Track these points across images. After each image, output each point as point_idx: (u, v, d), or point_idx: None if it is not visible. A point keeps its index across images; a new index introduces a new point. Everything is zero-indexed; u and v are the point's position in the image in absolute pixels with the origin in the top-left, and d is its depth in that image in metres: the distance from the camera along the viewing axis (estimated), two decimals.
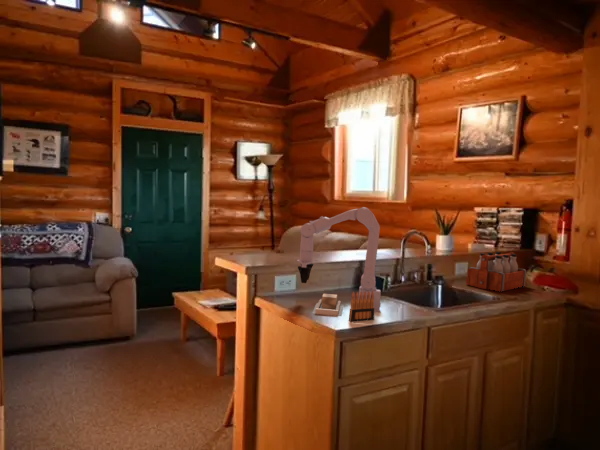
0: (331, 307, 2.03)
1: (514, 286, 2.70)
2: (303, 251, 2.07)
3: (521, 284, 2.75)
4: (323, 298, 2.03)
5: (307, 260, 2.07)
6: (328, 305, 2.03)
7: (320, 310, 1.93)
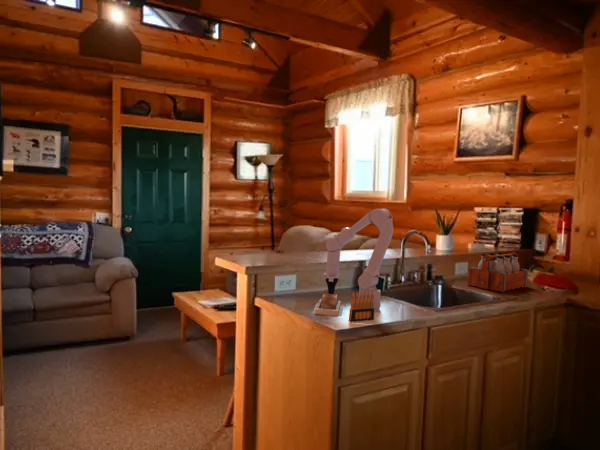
0: (331, 307, 2.03)
1: (516, 286, 2.70)
2: (330, 265, 2.12)
3: (522, 284, 2.75)
4: (323, 298, 2.03)
5: (334, 274, 2.12)
6: (328, 305, 2.03)
7: (320, 310, 1.93)
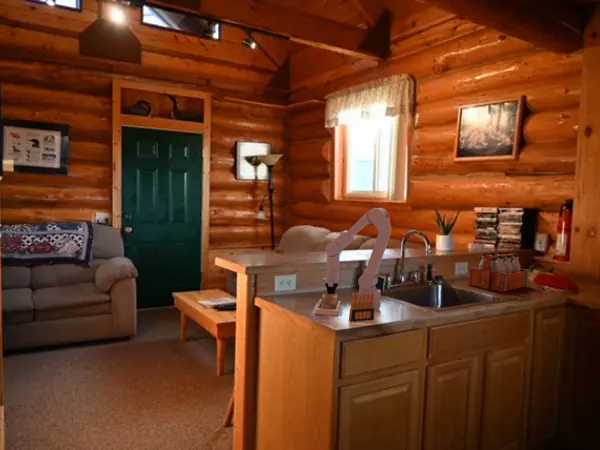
0: (331, 307, 2.03)
1: (516, 286, 2.70)
2: (329, 270, 2.11)
3: (523, 284, 2.75)
4: (323, 298, 2.03)
5: (333, 279, 2.11)
6: (328, 305, 2.03)
7: (320, 310, 1.93)
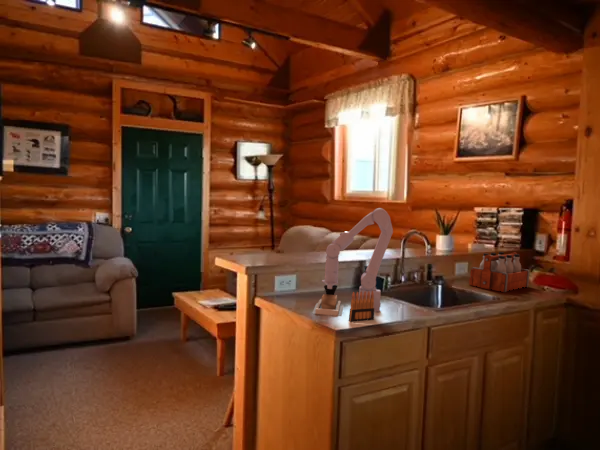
0: (331, 308, 2.02)
1: (517, 286, 2.70)
2: (328, 272, 2.06)
3: (524, 284, 2.75)
4: (323, 299, 2.02)
5: (332, 281, 2.06)
6: (327, 305, 2.02)
7: (320, 310, 1.93)
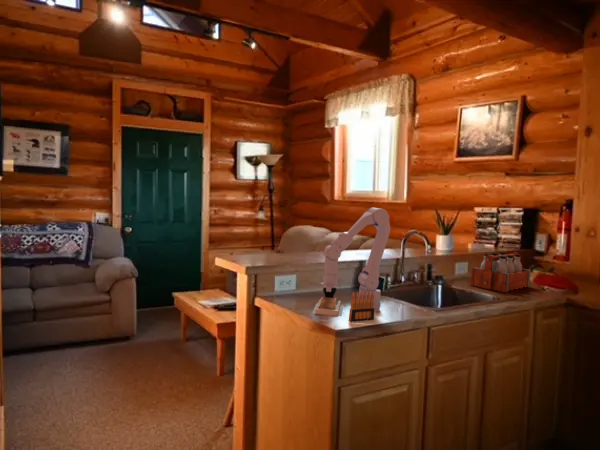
0: None
1: (518, 286, 2.70)
2: (327, 274, 2.00)
3: (525, 284, 2.75)
4: (321, 302, 1.96)
5: (331, 283, 2.00)
6: (326, 308, 1.96)
7: (320, 310, 1.93)
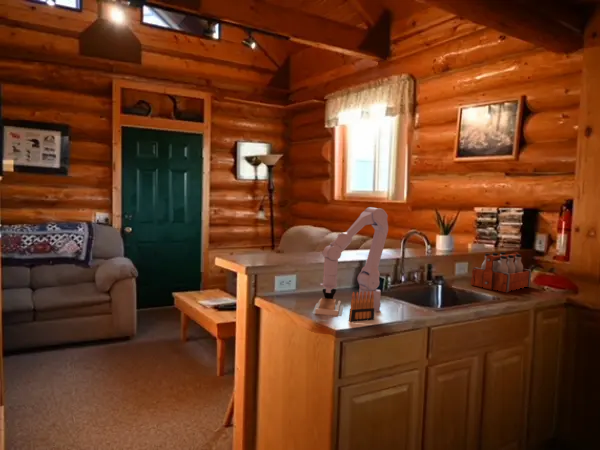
0: None
1: (519, 286, 2.70)
2: (327, 275, 1.98)
3: (526, 284, 2.75)
4: (321, 303, 1.94)
5: (331, 284, 1.98)
6: None
7: (320, 310, 1.93)
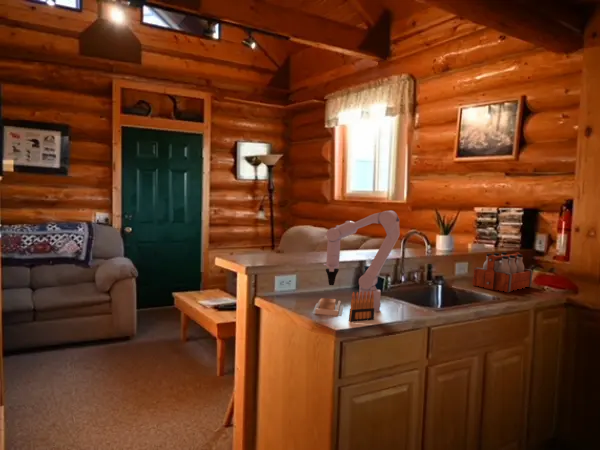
0: None
1: (521, 286, 2.70)
2: (330, 255, 2.10)
3: (527, 285, 2.75)
4: (321, 303, 1.94)
5: (334, 264, 2.10)
6: None
7: (320, 310, 1.93)
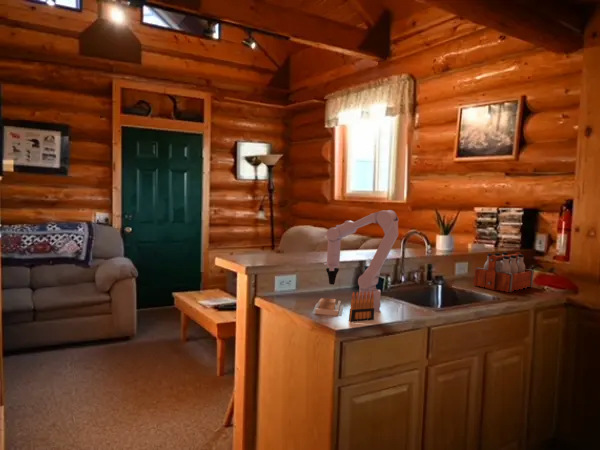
0: None
1: (522, 287, 2.70)
2: (330, 255, 2.11)
3: (528, 285, 2.75)
4: (321, 303, 1.94)
5: (334, 264, 2.11)
6: None
7: (320, 310, 1.93)
